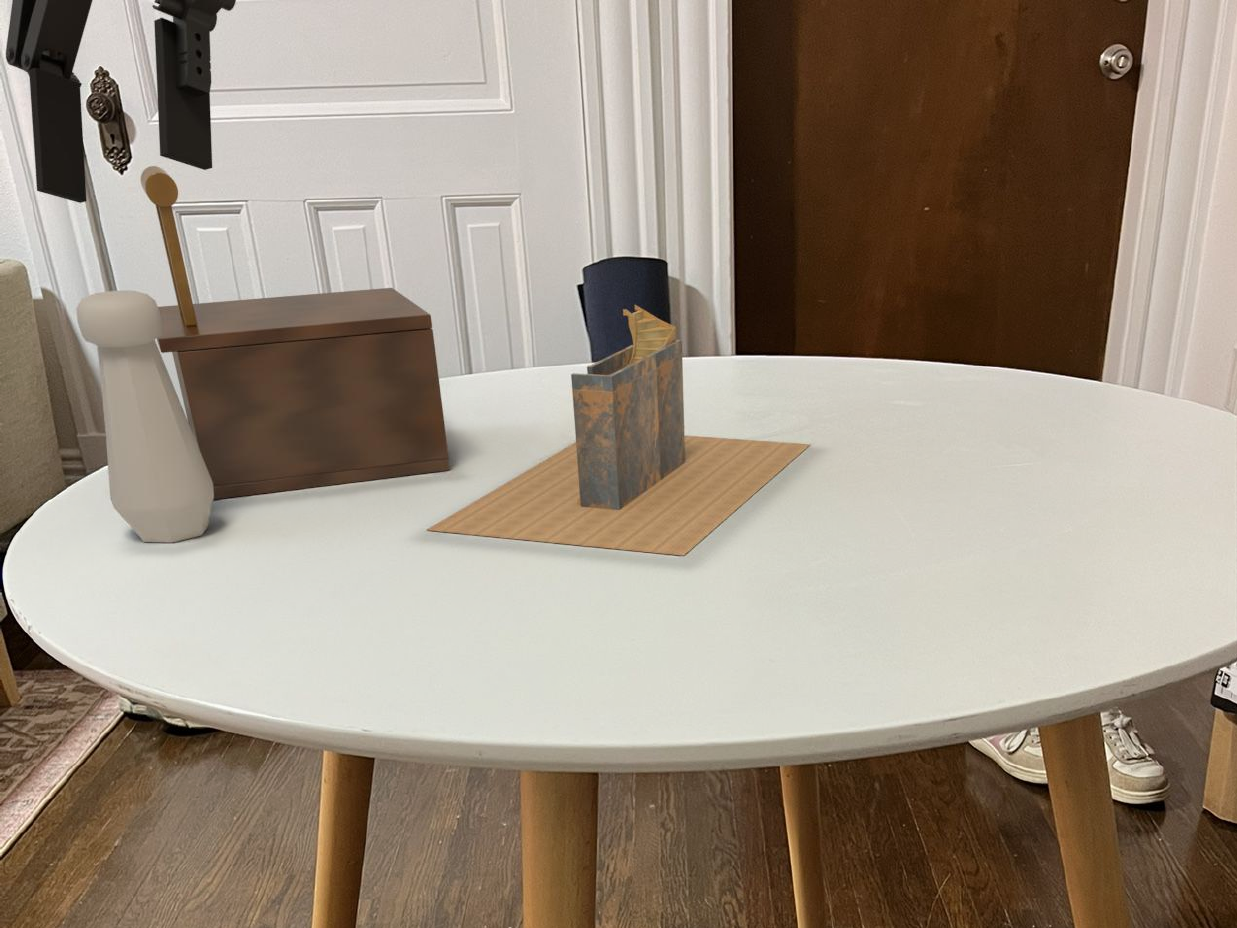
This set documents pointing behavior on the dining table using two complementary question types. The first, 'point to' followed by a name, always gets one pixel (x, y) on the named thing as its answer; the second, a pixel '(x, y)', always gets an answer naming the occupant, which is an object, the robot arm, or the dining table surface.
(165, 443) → the salt shaker
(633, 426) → the architectural model on board
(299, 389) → the box
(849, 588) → the dining table surface
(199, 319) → the caddy lid
